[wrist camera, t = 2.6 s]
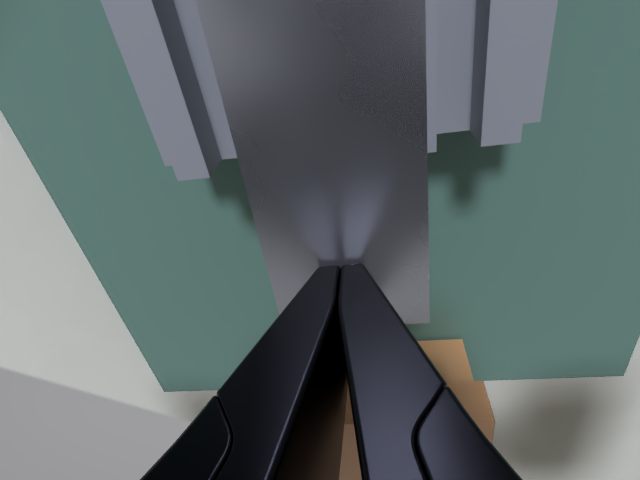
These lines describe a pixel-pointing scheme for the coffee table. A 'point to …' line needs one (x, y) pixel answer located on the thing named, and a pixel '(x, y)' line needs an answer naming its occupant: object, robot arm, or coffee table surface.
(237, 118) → the strap
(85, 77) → the board
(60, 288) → the coffee table surface
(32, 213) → the coffee table surface
